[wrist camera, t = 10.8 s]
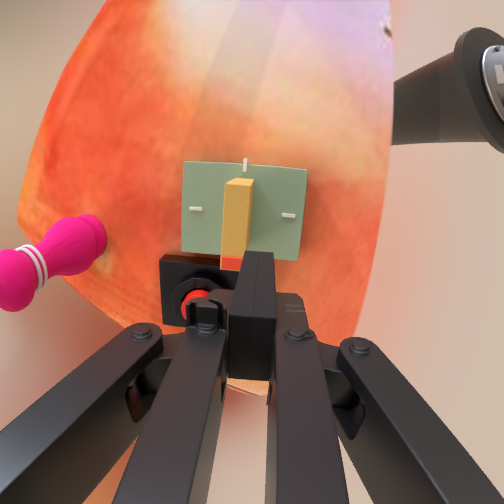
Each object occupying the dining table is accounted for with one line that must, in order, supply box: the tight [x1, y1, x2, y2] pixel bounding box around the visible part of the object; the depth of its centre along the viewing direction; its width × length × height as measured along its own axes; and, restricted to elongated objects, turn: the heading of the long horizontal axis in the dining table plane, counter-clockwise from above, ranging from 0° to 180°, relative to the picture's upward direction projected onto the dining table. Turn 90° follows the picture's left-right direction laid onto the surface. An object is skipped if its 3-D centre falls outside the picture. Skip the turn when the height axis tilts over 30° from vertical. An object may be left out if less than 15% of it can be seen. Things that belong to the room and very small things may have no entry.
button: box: [181, 289, 209, 320], centre depth 32 cm, size 4×4×2 cm
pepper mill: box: [0, 215, 107, 312], centre depth 25 cm, size 7×7×20 cm
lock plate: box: [181, 158, 308, 261], centre depth 31 cm, size 13×11×3 cm
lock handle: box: [220, 178, 254, 271], centre depth 26 cm, size 7×2×8 cm, turn 175°
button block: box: [159, 255, 239, 327], centre depth 34 cm, size 11×9×4 cm
